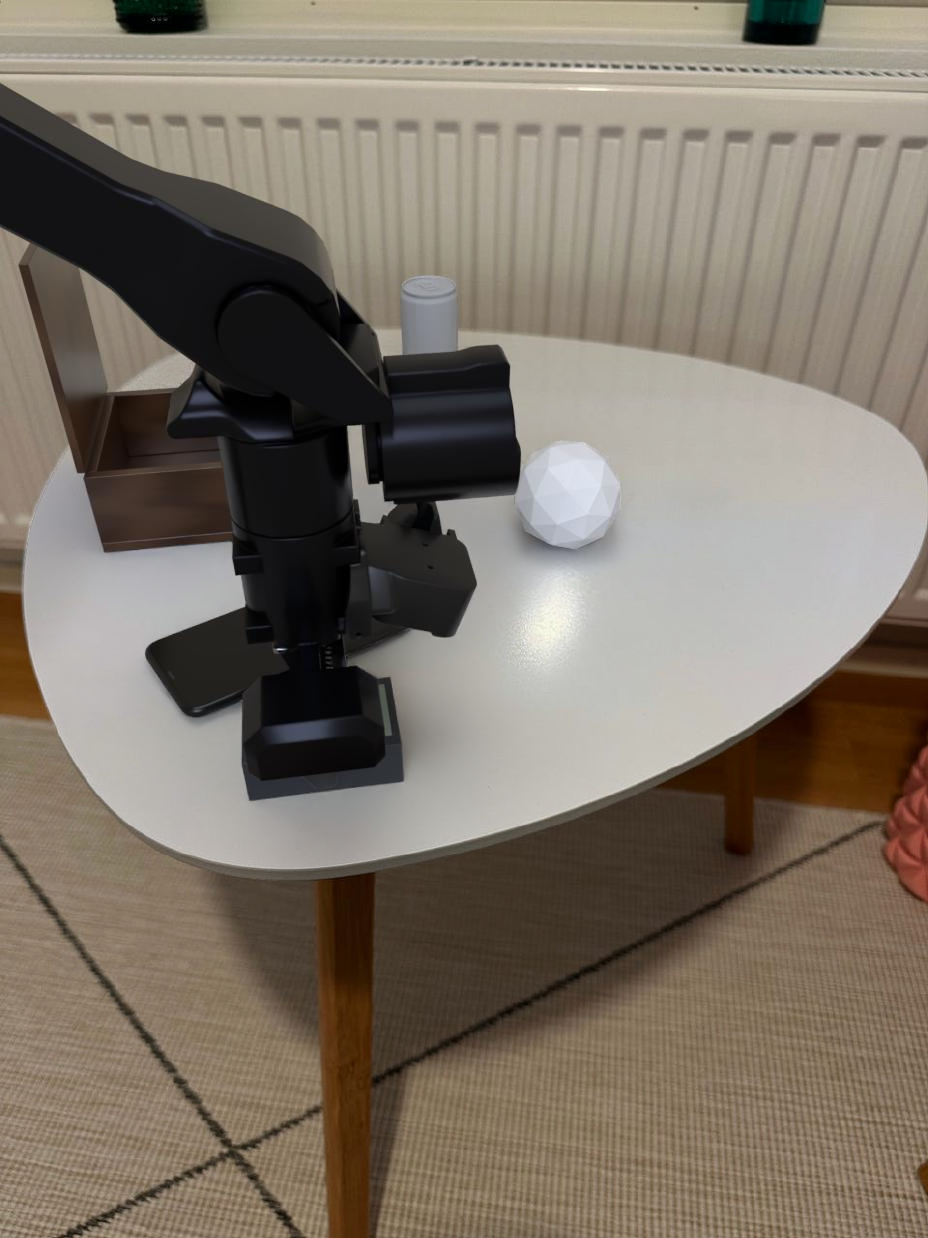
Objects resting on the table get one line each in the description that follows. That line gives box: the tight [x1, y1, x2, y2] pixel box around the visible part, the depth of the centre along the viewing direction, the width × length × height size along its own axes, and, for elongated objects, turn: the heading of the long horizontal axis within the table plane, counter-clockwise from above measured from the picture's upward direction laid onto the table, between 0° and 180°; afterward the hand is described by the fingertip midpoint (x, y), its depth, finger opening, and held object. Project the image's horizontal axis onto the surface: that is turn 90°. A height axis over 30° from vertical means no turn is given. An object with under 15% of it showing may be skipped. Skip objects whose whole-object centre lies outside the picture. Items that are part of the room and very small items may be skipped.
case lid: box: [18, 242, 109, 475], centre depth 68 cm, size 14×14×1 cm
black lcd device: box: [240, 676, 405, 801], centre depth 55 cm, size 8×6×3 cm, turn 100°
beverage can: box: [399, 274, 459, 355], centre depth 85 cm, size 5×5×12 cm
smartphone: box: [144, 606, 408, 719], centre depth 63 cm, size 8×1×16 cm
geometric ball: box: [514, 439, 622, 550], centre depth 71 cm, size 8×8×8 cm
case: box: [82, 386, 233, 553], centre depth 76 cm, size 14×14×6 cm
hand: (322, 740), depth 55 cm, fingers open, 7 cm apart
